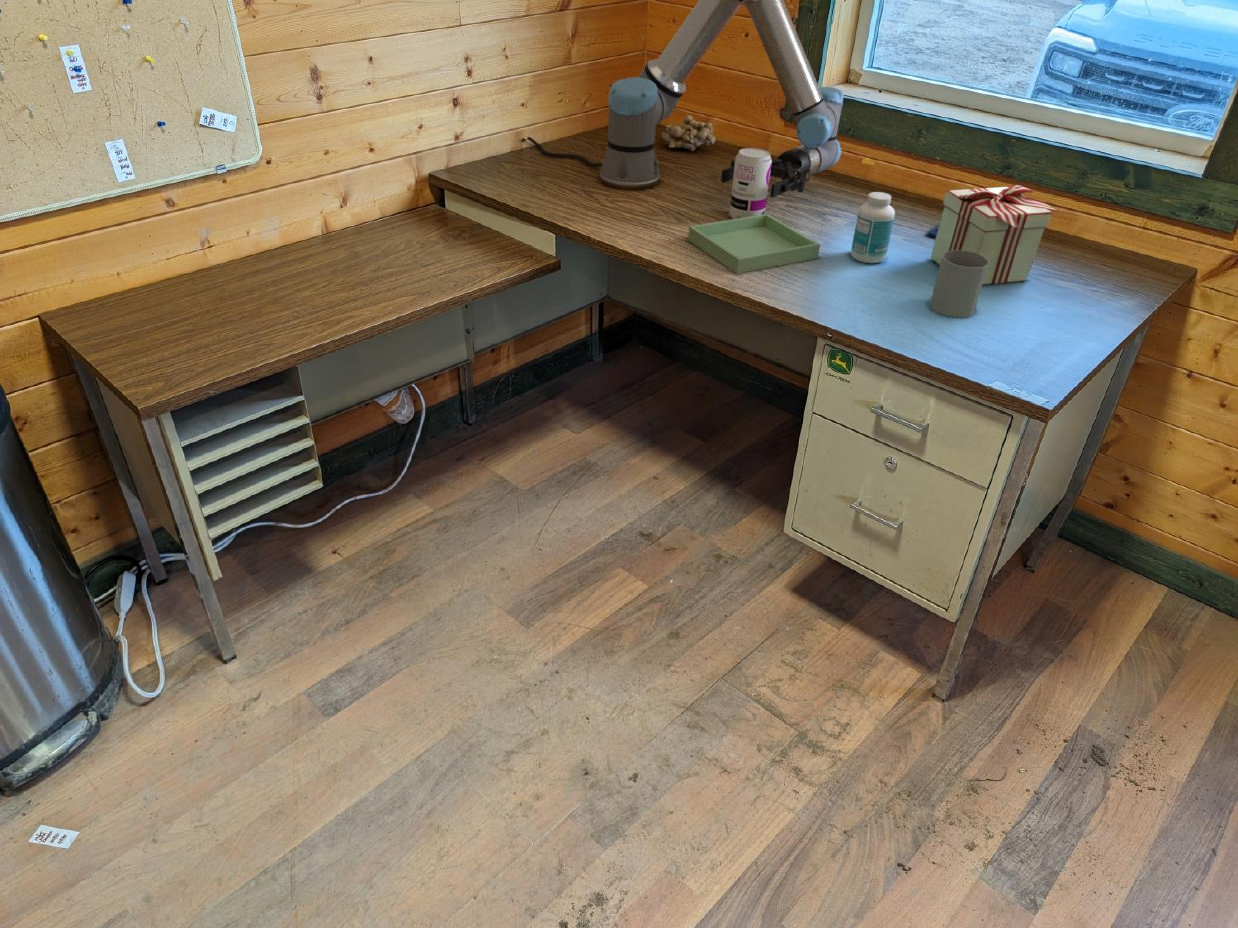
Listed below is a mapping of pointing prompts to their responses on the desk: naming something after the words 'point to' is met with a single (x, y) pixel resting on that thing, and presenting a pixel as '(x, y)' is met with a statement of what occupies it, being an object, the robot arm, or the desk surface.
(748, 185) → the supplement can
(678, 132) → the mineral formation
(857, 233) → the pill bottle
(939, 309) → the cup
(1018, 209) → the gift box
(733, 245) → the tray
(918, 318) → the desk surface
